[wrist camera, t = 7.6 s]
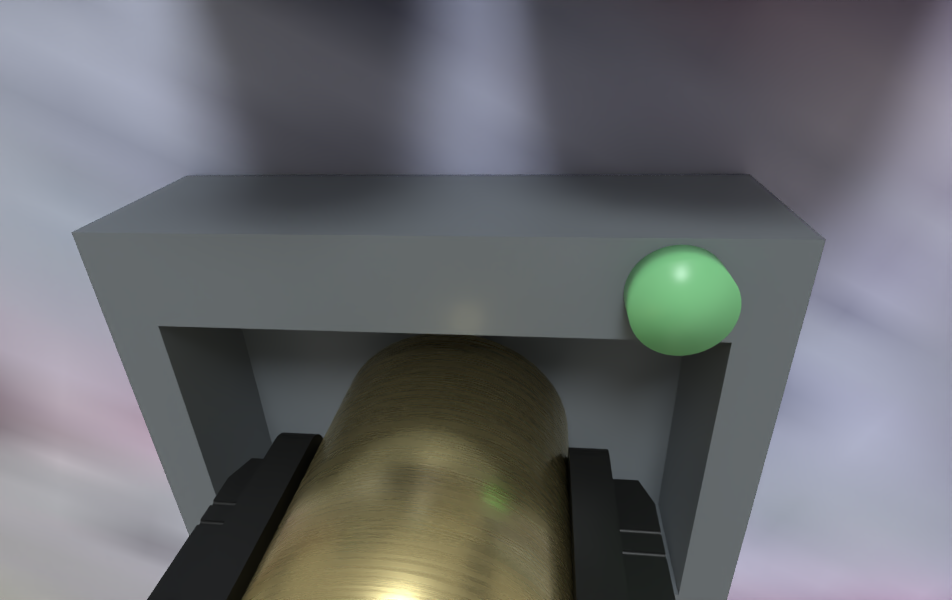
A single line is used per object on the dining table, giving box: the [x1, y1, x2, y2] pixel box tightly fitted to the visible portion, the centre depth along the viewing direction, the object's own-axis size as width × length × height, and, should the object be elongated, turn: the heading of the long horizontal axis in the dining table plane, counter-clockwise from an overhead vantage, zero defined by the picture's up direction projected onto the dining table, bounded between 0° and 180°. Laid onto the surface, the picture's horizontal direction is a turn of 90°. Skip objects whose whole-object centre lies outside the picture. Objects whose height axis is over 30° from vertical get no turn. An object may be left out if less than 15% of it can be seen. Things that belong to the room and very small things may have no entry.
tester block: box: [72, 174, 825, 600], centre depth 13 cm, size 12×10×4 cm
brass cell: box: [242, 334, 574, 600], centre depth 9 cm, size 5×5×8 cm
